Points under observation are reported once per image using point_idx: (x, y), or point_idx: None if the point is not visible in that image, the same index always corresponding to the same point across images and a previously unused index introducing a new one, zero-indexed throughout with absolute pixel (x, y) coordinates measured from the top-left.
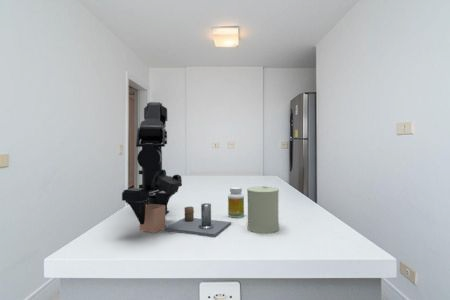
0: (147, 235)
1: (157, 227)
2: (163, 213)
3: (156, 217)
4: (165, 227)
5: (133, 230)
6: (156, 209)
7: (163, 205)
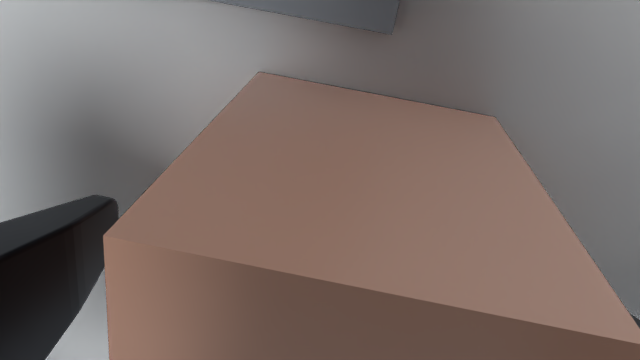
0: (603, 156)
1: (441, 120)
2: (254, 159)
3: (493, 195)
4: (382, 18)
5: None
6: (540, 302)
7: (144, 272)
